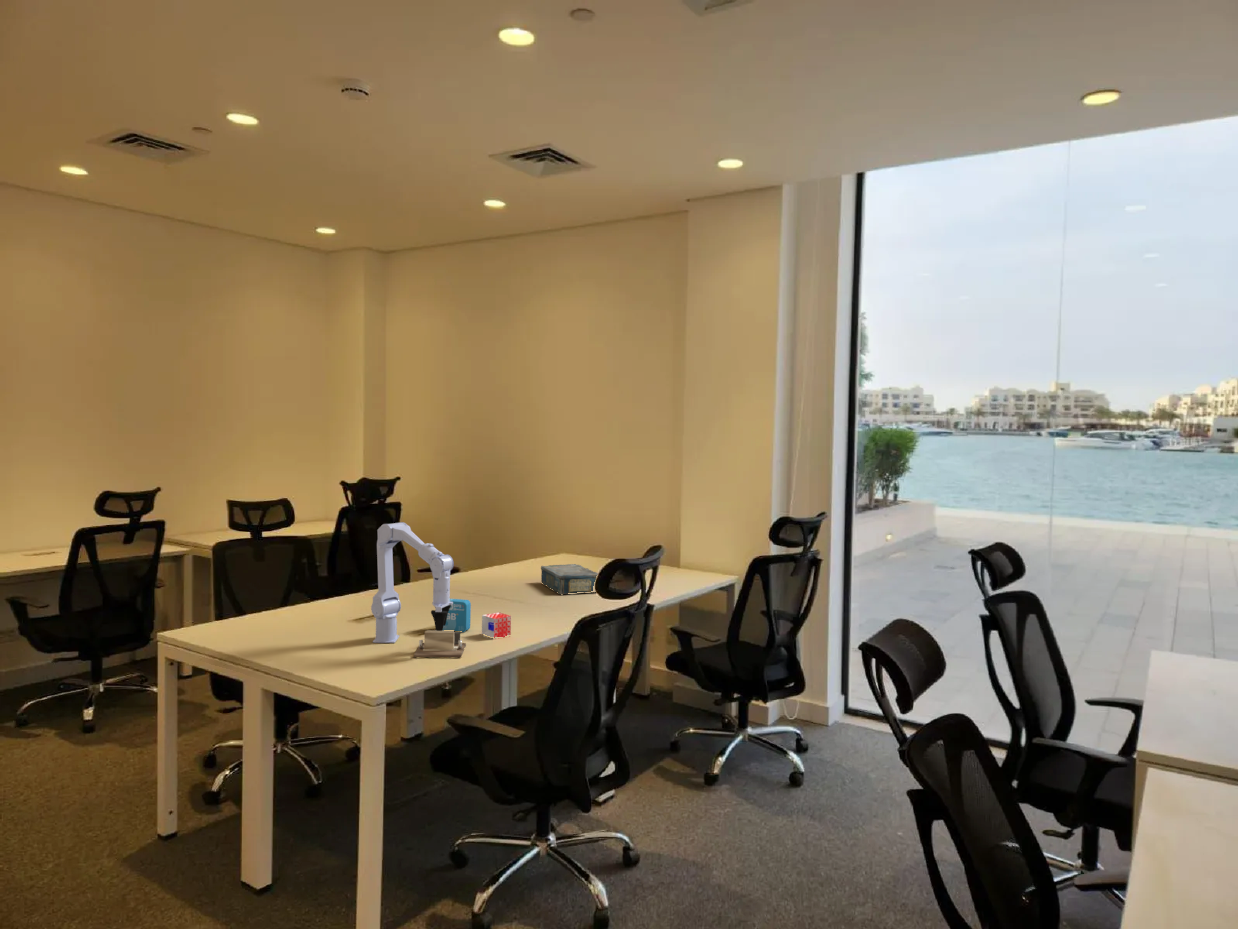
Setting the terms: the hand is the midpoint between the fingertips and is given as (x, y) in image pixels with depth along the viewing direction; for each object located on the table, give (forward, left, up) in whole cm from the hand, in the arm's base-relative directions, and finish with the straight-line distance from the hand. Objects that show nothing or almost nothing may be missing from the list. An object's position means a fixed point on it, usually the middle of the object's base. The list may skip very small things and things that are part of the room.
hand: (440, 628), depth 288 cm
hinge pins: (0, 0, -8) cm, 9 cm away
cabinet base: (0, 0, -8) cm, 9 cm away
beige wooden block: (0, 0, -7) cm, 7 cm away
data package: (-31, +1, -9) cm, 32 cm away
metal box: (-118, +48, -9) cm, 127 cm away
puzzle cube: (-23, +18, -9) cm, 31 cm away
